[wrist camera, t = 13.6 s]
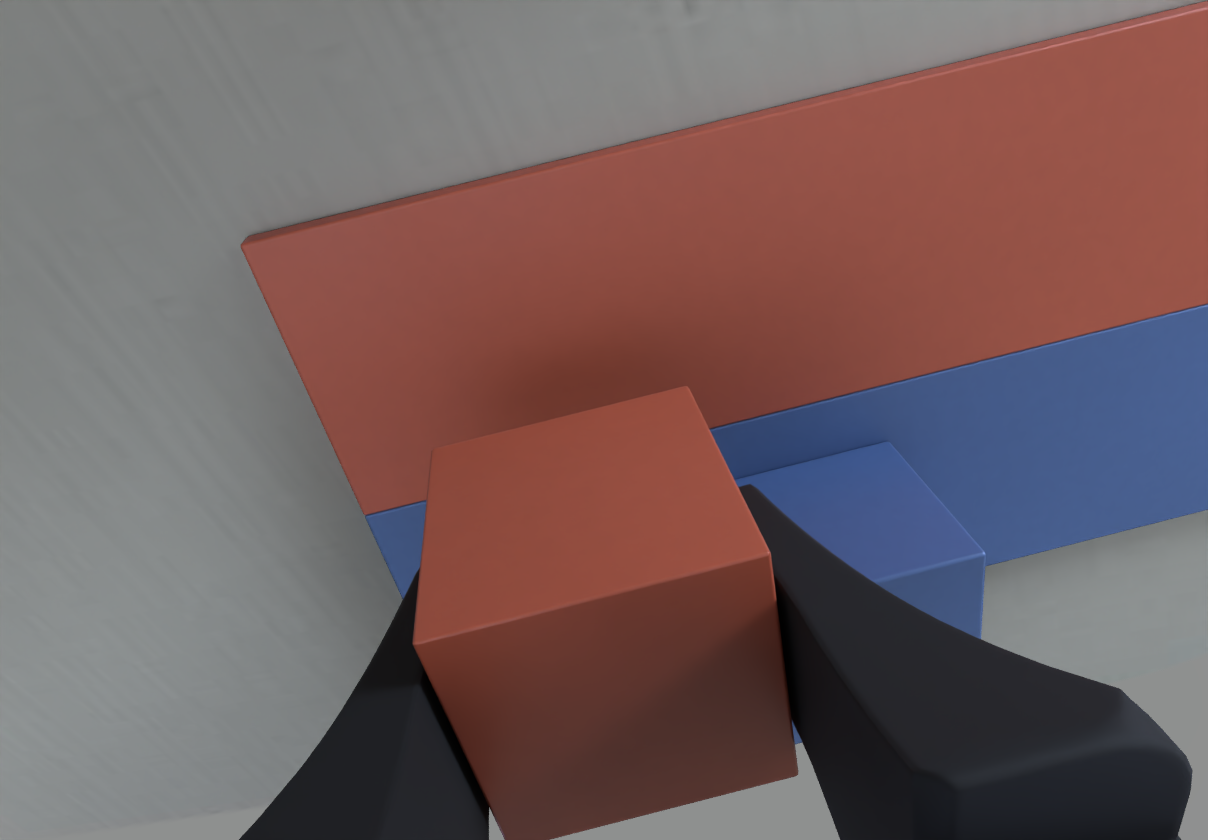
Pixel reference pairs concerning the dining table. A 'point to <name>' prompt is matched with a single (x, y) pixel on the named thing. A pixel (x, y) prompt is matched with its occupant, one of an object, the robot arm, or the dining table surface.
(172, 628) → the dining table surface
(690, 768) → the red block
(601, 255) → the board
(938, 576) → the blue block
